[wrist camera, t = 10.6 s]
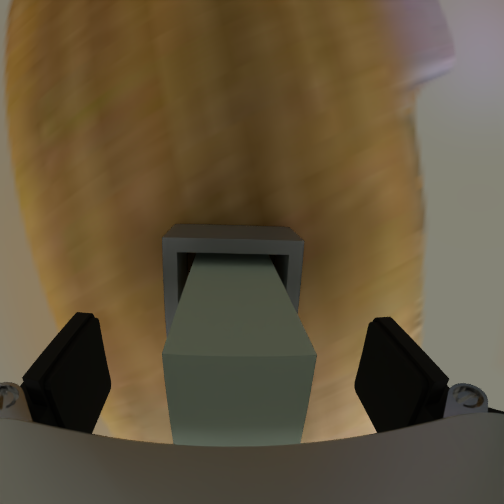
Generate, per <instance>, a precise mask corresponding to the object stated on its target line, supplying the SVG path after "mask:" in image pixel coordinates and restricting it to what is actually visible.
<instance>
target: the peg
mask: <svg viewBox="0 0 504 504" xmlns="http://www.w3.org/2000/svg"><path fill="white" fill-rule="evenodd" d="M316 357H317V354H316V352H315V350H314V348H313V346H312V344H311V342H310V339H309V337H308V335H307V333H306V331H305V329H304V327H303V325H302V323H301V321H300V319H299V317H298V314H297V312H296V310H295V308H294V306H293V304H292V302H291V300H290V298H289V296H288V294H287V292H286V290H285V288H284V285H283V283H282V281H281V279H280V277H279V275H278V273H277V271H276V269H275V267H274V265H273V263H272V261H271V259H270V257H269V255H268V254H233V253H196V256H195V259H194V261H193V264H192V267H191V270H190V272H189V275H188V278H187V281H186V284H185V287H184V289H183V292H182V295H181V298H180V301H179V304H178V307H177V310H176V313H175V316H174V319H173V322H172V325H171V328H170V331H169V334H168V337H167V340H166V343H165V346H164V349H163V352H162V358H163V368H164V377H165V386H166V394H167V402H168V410H169V417H170V424H171V430H172V437H173V443H174V444H177V445H194V446H269V445H286V444H299V443H300V442H301V437H302V432H303V427H304V423H305V418H306V413H307V408H308V402H309V397H310V392H311V386H312V381H313V375H314V369H315V363H316Z"/></svg>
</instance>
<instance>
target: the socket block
mask: <svg viewBox="0 0 504 504" xmlns="http://www.w3.org/2000/svg"><path fill="white" fill-rule="evenodd" d="M162 250H163V281H164V302H165V319H166V333H167V337H168V334H169V331H170V328H171V325H172V322H173V319H174V316H175V313H176V310H177V307H178V304H179V301H180V298H181V295H182V292H183V289H184V287H185V284H186V281H187V252H192V253H233V254H275V255H276V261H275V269H276V271H277V273H278V275H279V277H280V279H281V281H282V283H283V285H284V288H285V290H286V292H287V294H288V296H289V298H290V300H291V302H292V304H293V306H294V308H295V310H296V312H297V314H298V306H299V296H300V285H301V275H302V263H303V252H304V240H303V239H302V238H300V237H299V236H298V235H297V234H296V233H295V232H294V231H293V230H292V229H291V228H290V227H274V226H243V225H204V224H175V225H174V226H173V227H172V228H171V229H170V230H169V231H168V232H167V233H166V234H165V235H164V236H163V237H162Z"/></svg>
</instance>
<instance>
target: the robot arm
mask: <svg viewBox="0 0 504 504" xmlns="http://www.w3.org/2000/svg"><path fill="white" fill-rule="evenodd" d="M22 378H23V381H24V382H23V383H22V384H21V386H19V385H17V384H15V383H12V382H3V383H0V504H504V412H503V411H499V410H496V409H492V408H488V399H487V396H486V394H485V393H484V392H483V391H482V390H481V389H480V388H478V387H476V386H474V385H471V384H466V383H460V384H455V385H453V386H452V387H451V388H449V387H448V386H447V383H448V381H449V378H448V377H447V376H446V375H445V374H444V373H443V372H442V370H441V369H440V368H439V367H438V366H437V365H436V364H435V363H434V362H433V361H432V360H431V358H430V357H429V356H428V355H427V354H426V353H425V352H424V351H423V350H422V349H421V348H420V347H419V346H418V345H417V344H416V343H415V342H414V340H413V339H412V338H411V337H410V336H409V335H408V334H407V333H406V332H405V331H404V330H403V329H402V328H401V327H400V326H399V325H398V324H397V323H396V322H395V321H394V320H393V319H392V318H391V317H379V318H375V319H374V320H373V322H370V323H369V325H368V330H367V334H366V339H365V343H364V347H363V352H362V356H361V360H360V364H359V368H358V372H357V376H356V379H355V391H356V393H357V395H358V397H359V399H360V401H361V403H362V405H363V406H364V408H365V410H366V412H367V414H368V416H369V418H370V420H371V422H372V424H373V426H374V427H375V429H376V431H377V433H374V434H369V435H363V436H357V437H350V438H344V439H336V440H328V441H320V442H310V443H299V444H286V445H269V446H194V445H177V444H164V443H153V442H143V441H135V440H127V439H120V438H113V437H107V436H101V435H95V434H92V432H93V430H94V427H95V425H96V423H97V420H98V418H99V415H100V413H101V411H102V408H103V406H104V404H105V401H106V399H107V397H108V394H109V392H110V389H111V379H110V375H109V370H108V365H107V361H106V356H105V351H104V346H103V340H102V335H101V329H100V323H99V320H98V318H95V317H94V315H93V314H92V313H81V312H77V313H76V314H75V315H74V316H73V317H72V318H71V319H70V320H69V322H68V323H67V324H66V325H65V326H64V327H63V329H62V330H61V331H60V332H59V333H58V334H57V336H56V337H55V338H54V339H53V340H52V341H51V343H50V344H49V345H48V346H47V348H46V349H45V350H44V351H43V352H42V354H41V355H40V356H39V357H38V359H37V360H36V361H35V362H34V363H33V365H32V366H31V367H30V369H29V370H28V371H27V372H26V374H25V375H24V376H23V377H22Z"/></svg>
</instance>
